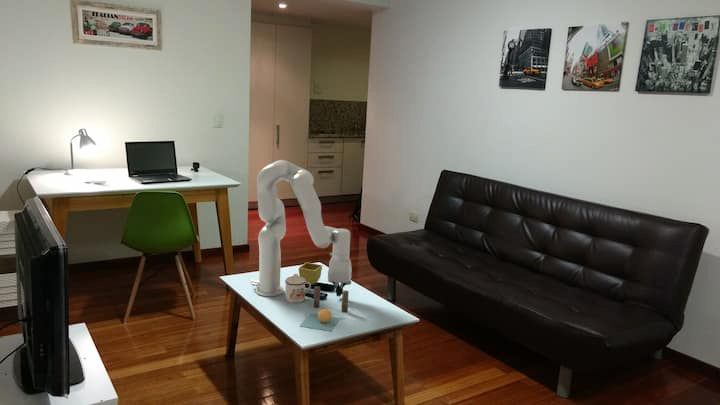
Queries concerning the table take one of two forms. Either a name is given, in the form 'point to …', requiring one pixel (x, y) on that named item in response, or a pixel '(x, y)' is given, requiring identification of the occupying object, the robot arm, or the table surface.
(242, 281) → the table surface
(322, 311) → the ball
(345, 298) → the right post
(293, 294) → the teacup with lid
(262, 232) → the robot arm
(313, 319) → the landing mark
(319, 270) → the flower pot
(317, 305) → the left post
